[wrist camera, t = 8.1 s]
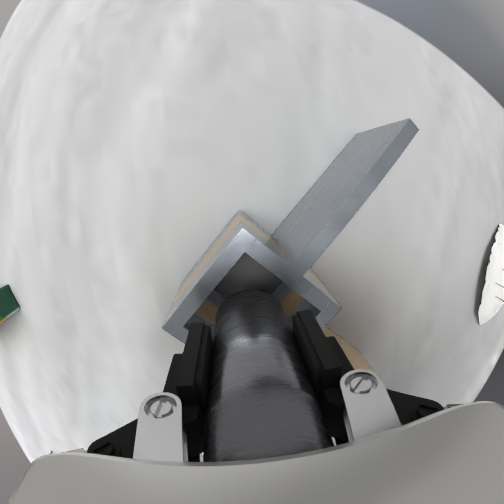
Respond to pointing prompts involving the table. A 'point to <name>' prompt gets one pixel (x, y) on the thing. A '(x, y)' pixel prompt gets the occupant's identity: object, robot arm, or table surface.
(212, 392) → the hinge pin
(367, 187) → the hinge
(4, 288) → the crayon box
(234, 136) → the table surface
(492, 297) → the pincushion
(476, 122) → the table surface
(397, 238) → the table surface
